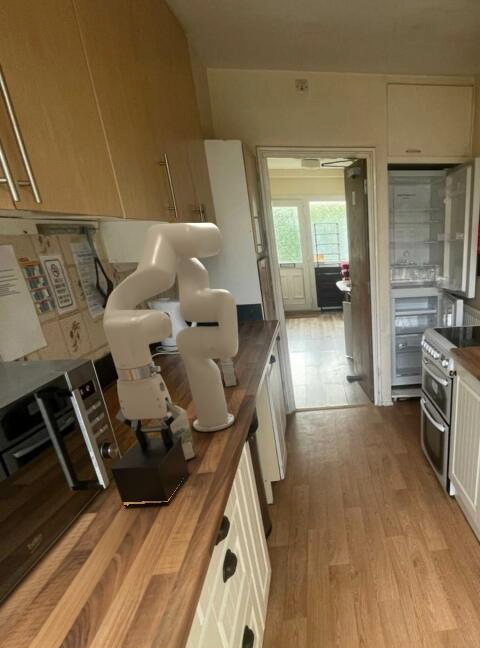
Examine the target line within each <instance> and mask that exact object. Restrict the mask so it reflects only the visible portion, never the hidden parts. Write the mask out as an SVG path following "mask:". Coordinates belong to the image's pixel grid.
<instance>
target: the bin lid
mask: <svg viewBox="0 0 480 648" xmlns="http://www.w3.org/2000/svg"><path fill="white" fill-rule="evenodd" d="M161 429H162V426H161V425H160V426H159V425H144V426H142V427H141V432H142V433H143V434H144V437H145V440H146V443H145V444H144V445H140V443H139V441H138V440H137V442H135V443H134V445H132V446H131V447H130V448H129V449H128V451H126V453H125V454H124V455H123V456H121V458H120V459H119V460H117V462H116V463H115V464H113V466H112V467H111V468H110V471H111V473H112V472H117V471H134V470H151V469H159V468H160V466H161V465H162V464H163V463H164V461H165V460H166V459H167V457H168V456H169V455H170V454H171V452H172V451H173V450H174V449H175V447H176V446H177V445H178V444H179V442H180V441H181V440H182V438H181V437H173V438H172V440H171V441H170V442H169V443H168V444H164V441H163V437H162V433H161ZM150 433H160V437H150V436H149V434H150Z"/></svg>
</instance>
